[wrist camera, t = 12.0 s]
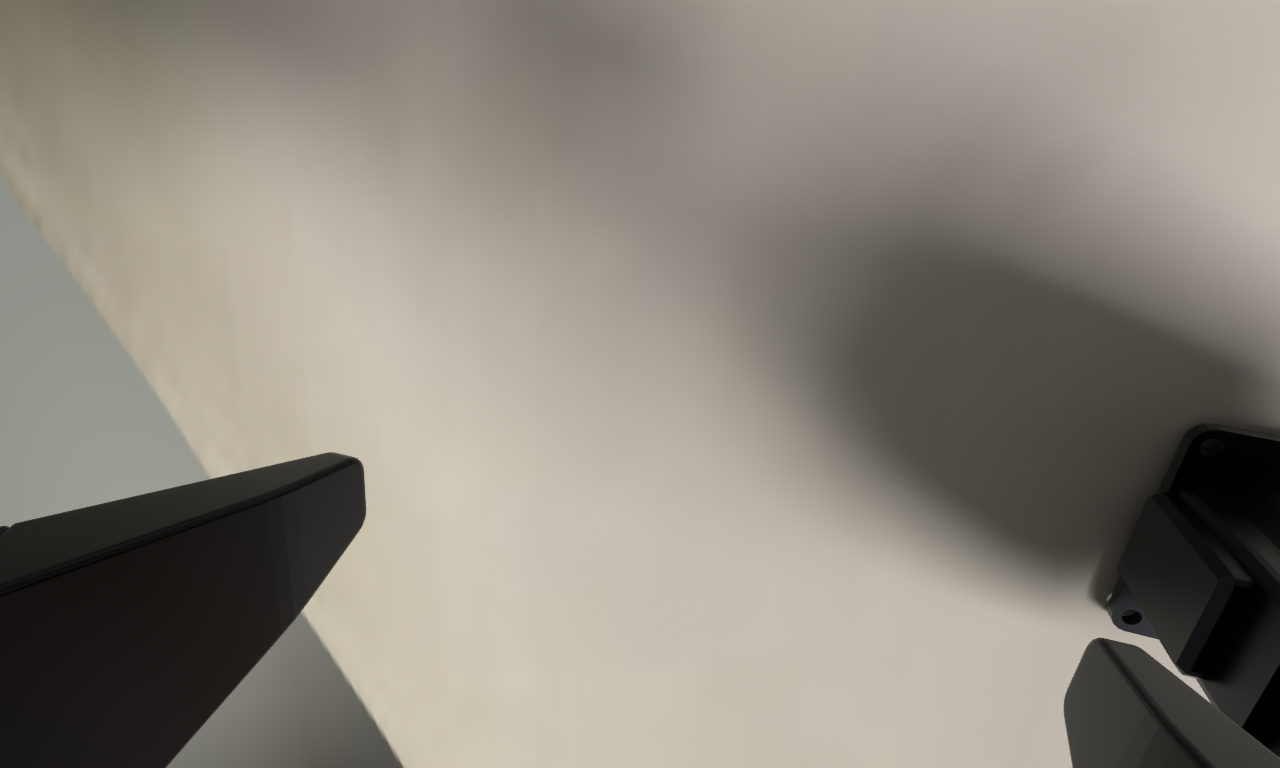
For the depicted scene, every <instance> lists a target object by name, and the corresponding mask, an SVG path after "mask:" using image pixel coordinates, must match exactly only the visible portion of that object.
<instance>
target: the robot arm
mask: <svg viewBox="0 0 1280 768" xmlns="http://www.w3.org/2000/svg"><path fill="white" fill-rule="evenodd" d="M1209 439H1217V442H1216V444H1215V445H1214V447H1213V448H1210V449H1208V450H1200V448H1201V445H1202V444H1203V442H1204V441H1206V440H1209ZM365 515H366V499H365V481H364V468H363V465H362V463H361V461H360V460H358V459H357V458H355V457H351V456H347V455H342V454H338V453H333V452H329V453H324V454H320V455H315V456H311V457H306V458H302V459H297V460H293V461H289V462H284V463H280V464H275V465H271V466H267V467H262V468H258V469H253V470H249V471H245V472H240V473H236V474H231V475H227V476H222V477H218V478H214V479H209V480H205V481H200V482H196V483H192V484H187V485H183V486H178V487H174V488H170V489H165V490H161V491H157V492H152V493H147V494H143V495H139V496H134V497H130V498H126V499H121V500H116V501H112V502H108V503H103V504H99V505H95V506H90V507H86V508H81V509H77V510H72V511H68V512H63V513H59V514H55V515H50V516H46V517H41V518H37V519H33V520H28V521H24V522H20V523H15V524H14V525H12V526H11V527H10V528H9V527H8V526H1V527H0V768H166V767H167V766H168V765H169V764H170V763H171V761H172V760H173V759H174V758H175V757H176V756H177V755H178V753H179V752H180V751H181V750H182V749H183V748H184V747H185V745H186V744H187V743H188V742H189V741H190V740H191V739H192V737H193V736H194V735H195V734H196V733H197V732H198V731H199V729H200V728H201V727H202V726H203V725H204V724H205V723H206V721H207V720H208V719H209V718H210V717H211V716H212V715H213V713H214V712H215V711H216V710H217V709H218V708H219V706H220V705H221V704H222V703H223V702H224V701H225V700H226V699H227V697H228V696H229V695H230V694H231V693H232V692H233V691H234V689H235V688H236V687H237V686H238V685H239V684H240V683H241V681H242V680H243V679H244V677H246V676H247V675H248V673H249V672H250V671H251V670H252V669H253V668H254V667H255V665H256V664H257V663H258V662H259V661H260V660H261V659H262V657H263V656H264V655H265V654H266V653H267V652H268V651H269V649H270V648H271V647H272V646H273V644H275V643H276V641H277V640H278V639H279V638H280V637H281V636H282V635H283V633H284V632H285V631H286V630H287V629H288V627H289V626H290V625H291V624H292V622H293V621H294V620H295V619H296V618H297V616H298V615H299V614H300V612H301V611H302V610H303V608H304V607H305V606H306V604H307V603H308V602H309V600H310V599H311V598H312V596H313V595H314V593H315V592H316V591H317V589H318V588H319V586H320V585H321V584H322V582H323V581H324V579H325V578H326V577H327V575H328V574H329V572H330V571H331V570H332V568H333V567H334V565H335V564H336V563H337V561H338V560H339V558H340V557H341V556H342V554H343V553H344V551H345V550H346V549H347V547H348V546H349V544H350V543H351V542H352V540H353V539H354V538H355V536H356V535H357V533H358V532H359V530H360V529H361V527H362V525H363V523H364V520H365ZM1117 570H1118V572H1119V573H1120V575H1121V576H1120V578H1119V580H1118V583H1117V585H1116V587H1115V589H1114V591H1113V594H1112V596H1111V598H1110V600H1109V602H1108V606H1107V611H1108V614H1109V616H1110V618H1111V620H1112V622H1113V624H1114V625H1115V626H1117V627H1118V628H1119V629H1122V630H1124V631H1127V632H1131V633H1135V634H1139V635H1143V636H1147V637H1151V638H1155V639H1159V640H1160V642H1161V643H1162V645H1163V647H1164V648H1165V650H1166V652H1167V653H1168V655H1169V657H1170V658H1171V660H1172V662H1173V663H1174V665H1175V666H1176V668H1177V669H1178V671H1179V672H1180V673H1181V674H1182V675H1185V676H1189V677H1193V678H1196V680H1197V681H1198V683H1199V684H1200V686H1201V688H1202V689H1203V691H1204V692H1205V694H1206V696H1207V697H1208V699H1209V700H1210V702H1211V703H1209V702H1208V701H1207V700H1206V699H1204V698H1203V697H1202V696H1201V695H1199V694H1198V693H1197V692H1196V691H1194V690H1193V689H1192V688H1191V687H1189V686H1188V685H1187V684H1185V683H1184V682H1183V681H1182V680H1180V679H1179V678H1178V677H1177V676H1175V675H1174V674H1173V673H1172V672H1170V671H1169V670H1168V669H1166V668H1165V667H1164V666H1163V665H1161V664H1160V663H1159V662H1158V661H1156V660H1155V659H1154V658H1153V657H1151V656H1150V655H1149V654H1147V653H1146V652H1145V651H1144V650H1142V649H1141V648H1139V647H1137V646H1134V645H1130V644H1126V643H1122V642H1118V641H1113V640H1109V639H1105V638H1097V639H1094V640H1092V641H1091V642H1090V643H1089V644H1088V646H1087V648H1086V650H1085V652H1084V654H1083V656H1082V658H1081V661H1080V663H1079V665H1078V667H1077V669H1076V672H1075V674H1074V676H1073V678H1072V680H1071V683H1070V685H1069V687H1068V689H1067V692H1066V695H1065V699H1064V718H1065V724H1066V730H1067V736H1068V742H1069V748H1070V754H1071V760H1072V766H1073V768H1280V436H1275V435H1269V434H1264V433H1259V432H1253V431H1248V430H1242V429H1237V428H1232V427H1226V426H1221V425H1215V424H1202V425H1198V426H1195V427H1193V428H1192V429H1190V430H1189V431H1188V432H1187V433H1186V434H1185V436H1184V437H1183V439H1182V442H1181V444H1180V446H1179V448H1178V450H1177V453H1176V455H1175V457H1174V459H1173V461H1172V464H1171V466H1170V468H1169V470H1168V472H1167V475H1166V477H1165V479H1164V481H1163V483H1162V486H1161V488H1160V490H1159V491H1157V492H1155V493H1154V494H1152V495H1151V496H1149V498H1148V500H1147V502H1146V504H1145V506H1144V509H1143V511H1142V513H1141V515H1140V517H1139V520H1138V522H1137V524H1136V526H1135V529H1134V531H1133V533H1132V535H1131V538H1130V540H1129V542H1128V544H1127V546H1126V549H1125V551H1124V553H1123V555H1122V558H1121V560H1120V562H1119V564H1118V567H1117ZM1128 610H1136V612H1135V613H1134V614H1133V615H1130V616H1123V615H1122V614H1123V613H1124V612H1125V611H1128Z"/></svg>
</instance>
